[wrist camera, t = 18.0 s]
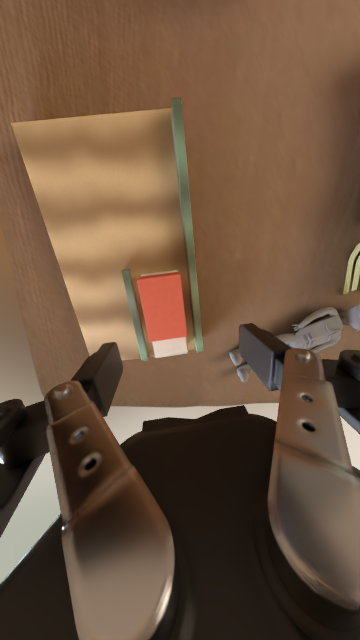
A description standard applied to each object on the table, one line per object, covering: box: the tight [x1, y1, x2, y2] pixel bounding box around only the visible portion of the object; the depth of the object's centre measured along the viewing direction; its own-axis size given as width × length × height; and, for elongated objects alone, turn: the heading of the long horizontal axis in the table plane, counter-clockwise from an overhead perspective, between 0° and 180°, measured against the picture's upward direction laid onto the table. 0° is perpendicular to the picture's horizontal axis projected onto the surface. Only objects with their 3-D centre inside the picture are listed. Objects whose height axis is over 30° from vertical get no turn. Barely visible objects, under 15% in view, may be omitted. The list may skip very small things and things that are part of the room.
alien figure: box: [229, 304, 360, 382], centre depth 31 cm, size 8×5×25 cm
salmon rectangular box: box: [137, 270, 188, 358], centre depth 24 cm, size 12×5×5 cm, turn 7°
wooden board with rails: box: [11, 98, 203, 361], centre depth 24 cm, size 30×18×5 cm, turn 7°
